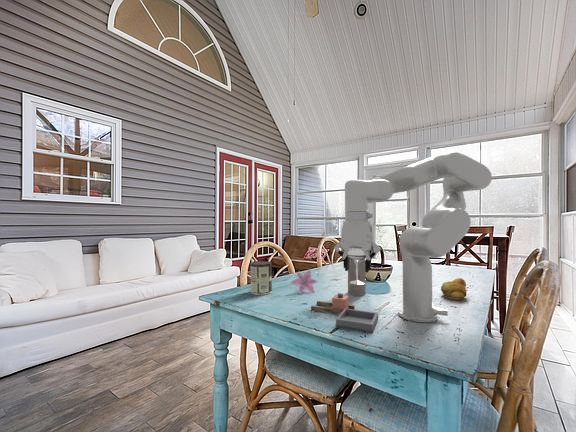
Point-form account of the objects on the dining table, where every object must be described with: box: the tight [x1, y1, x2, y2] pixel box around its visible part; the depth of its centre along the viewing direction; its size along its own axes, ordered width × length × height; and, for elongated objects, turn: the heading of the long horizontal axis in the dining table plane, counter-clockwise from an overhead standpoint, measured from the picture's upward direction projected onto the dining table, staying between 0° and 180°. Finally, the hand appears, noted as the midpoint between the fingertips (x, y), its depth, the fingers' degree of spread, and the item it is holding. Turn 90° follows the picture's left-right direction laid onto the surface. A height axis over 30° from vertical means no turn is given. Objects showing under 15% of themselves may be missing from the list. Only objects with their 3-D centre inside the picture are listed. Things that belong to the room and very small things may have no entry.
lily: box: [290, 269, 318, 295], centre depth 135 cm, size 12×12×10 cm
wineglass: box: [347, 247, 366, 285], centre depth 94 cm, size 7×7×12 cm
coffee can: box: [249, 260, 273, 296], centre depth 135 cm, size 10×10×14 cm
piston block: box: [331, 292, 350, 310], centre depth 107 cm, size 5×5×6 cm
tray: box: [335, 309, 379, 334], centre depth 94 cm, size 12×12×2 cm
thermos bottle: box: [347, 258, 367, 296], centre depth 131 cm, size 8×8×28 cm
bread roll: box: [440, 277, 467, 301], centre depth 122 cm, size 13×10×8 cm
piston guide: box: [310, 300, 356, 315], centre depth 107 cm, size 15×10×2 cm
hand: (357, 270), depth 94 cm, fingers closed on wineglass, 6 cm apart
